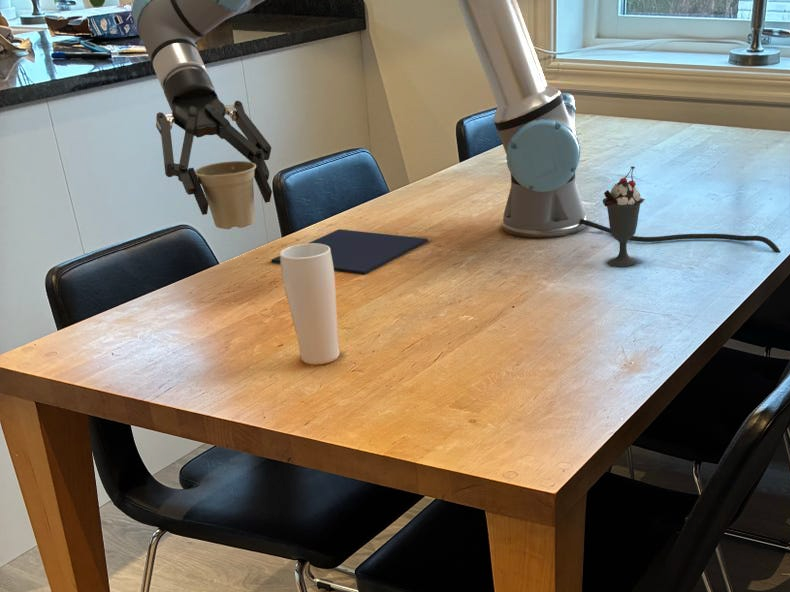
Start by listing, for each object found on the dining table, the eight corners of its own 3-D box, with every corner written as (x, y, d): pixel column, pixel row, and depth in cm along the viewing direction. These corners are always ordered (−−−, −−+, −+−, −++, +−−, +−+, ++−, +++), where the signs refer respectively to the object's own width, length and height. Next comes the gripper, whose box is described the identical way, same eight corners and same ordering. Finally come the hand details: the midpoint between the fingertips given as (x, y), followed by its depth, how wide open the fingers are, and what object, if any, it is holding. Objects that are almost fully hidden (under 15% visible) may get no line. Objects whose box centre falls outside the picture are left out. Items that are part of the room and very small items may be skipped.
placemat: (428, 241, 188) (427, 238, 188) (364, 274, 174) (364, 271, 173) (339, 231, 197) (338, 229, 197) (271, 262, 183) (271, 259, 182)
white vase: (297, 351, 145) (280, 245, 137) (346, 347, 145) (332, 240, 138) (294, 370, 139) (276, 260, 132) (344, 366, 140) (330, 255, 132)
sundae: (646, 256, 173) (649, 163, 165) (638, 269, 167) (640, 173, 160) (607, 255, 175) (608, 163, 167) (598, 267, 169) (598, 173, 162)
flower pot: (252, 232, 159) (241, 174, 155) (195, 233, 161) (183, 175, 157) (274, 215, 167) (265, 160, 162) (219, 216, 169) (209, 161, 164)
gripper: (249, 89, 171) (300, 204, 167) (115, 109, 162) (165, 231, 158) (255, 56, 165) (308, 175, 161) (115, 75, 156) (167, 202, 152)
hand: (237, 203), depth 160 cm, fingers closed on flower pot, 9 cm apart
